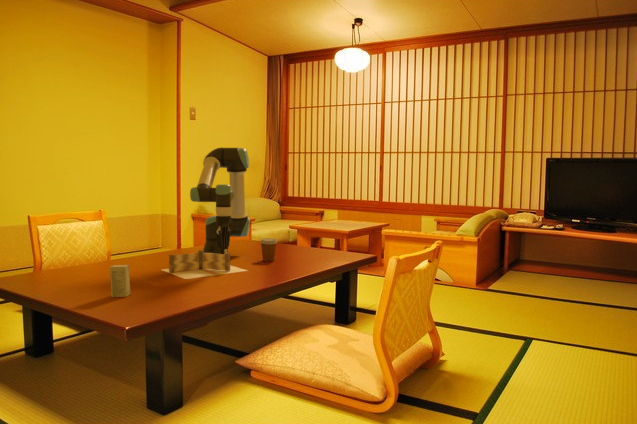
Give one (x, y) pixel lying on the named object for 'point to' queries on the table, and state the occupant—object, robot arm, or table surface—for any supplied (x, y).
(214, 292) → the table surface
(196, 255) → the fence fixed
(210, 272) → the card
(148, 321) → the table surface
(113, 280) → the skincare box
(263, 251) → the disposable coffee cup
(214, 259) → the fence flap
